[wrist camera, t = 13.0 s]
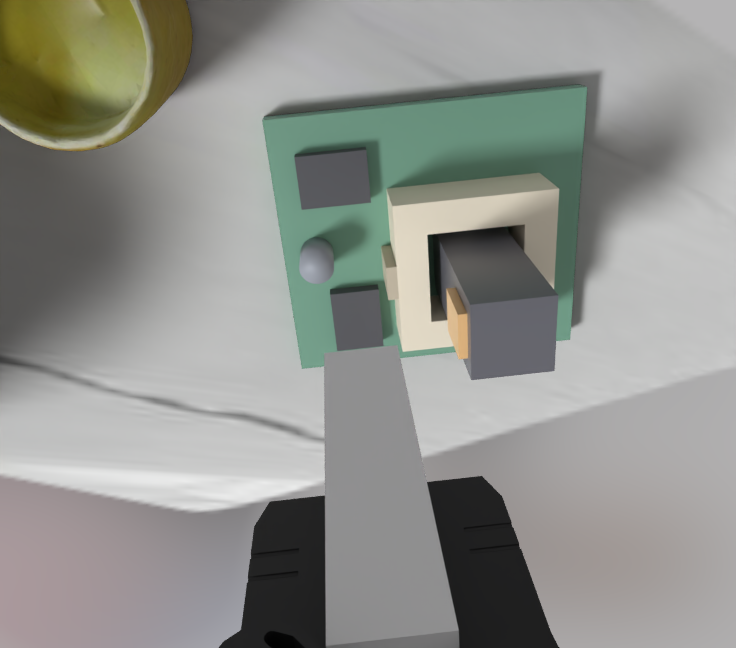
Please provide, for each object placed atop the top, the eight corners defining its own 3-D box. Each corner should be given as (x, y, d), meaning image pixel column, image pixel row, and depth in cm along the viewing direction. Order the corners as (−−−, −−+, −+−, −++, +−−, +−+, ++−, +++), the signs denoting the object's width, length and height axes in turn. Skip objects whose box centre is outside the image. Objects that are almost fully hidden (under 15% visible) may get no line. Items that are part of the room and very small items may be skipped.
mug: (187, -132, 29) (96, -69, 22) (234, 85, 36) (176, 184, 29) (-58, -122, 30) (-214, -59, 24) (34, 85, 38) (-64, 179, 31)
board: (302, 359, 43) (300, 398, 39) (264, 116, 36) (256, 132, 32) (564, 331, 44) (589, 366, 39) (579, 84, 36) (612, 95, 32)
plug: (427, 287, 40) (461, 381, 30) (425, 227, 38) (460, 305, 28) (497, 279, 40) (554, 370, 30) (498, 219, 38) (558, 295, 28)
